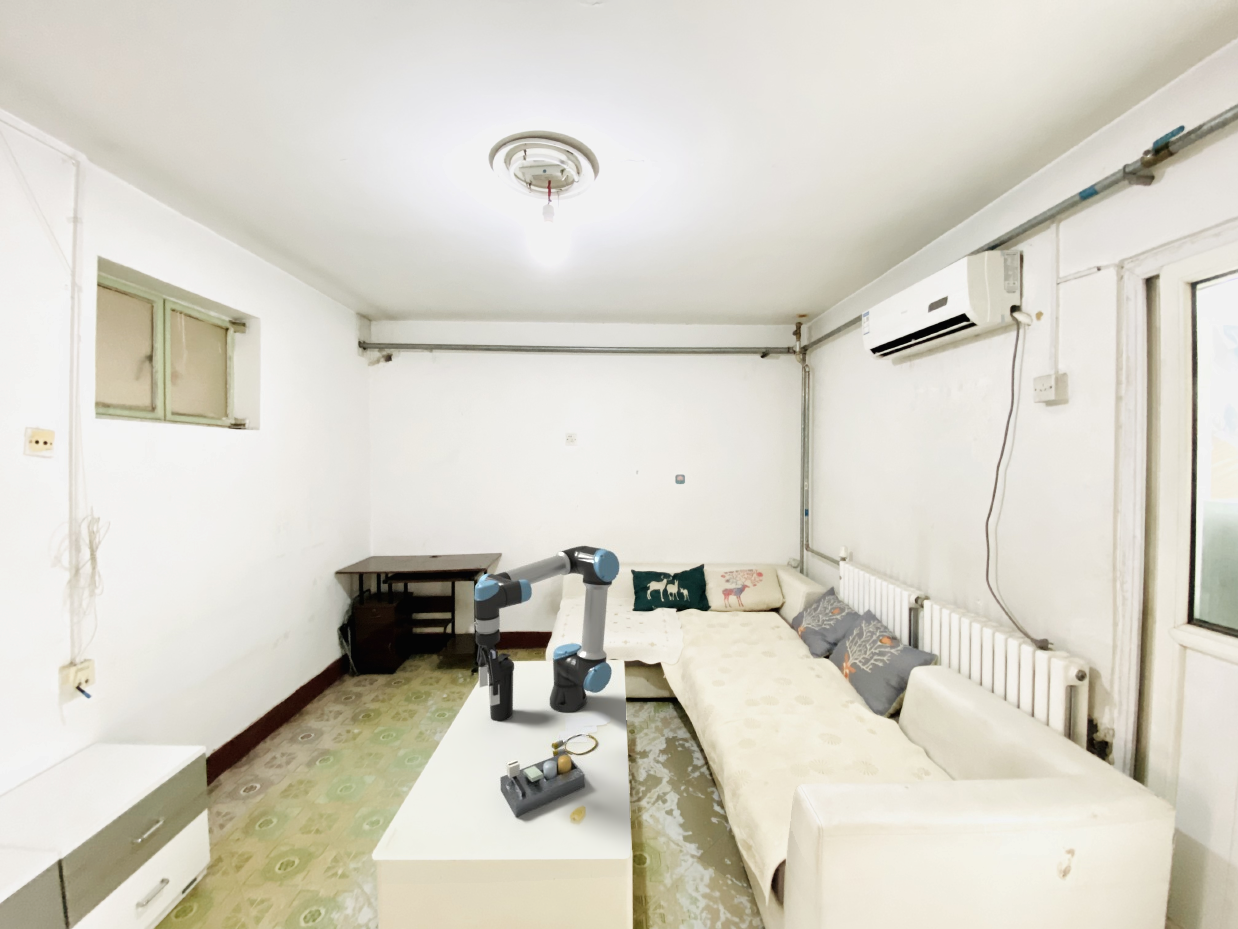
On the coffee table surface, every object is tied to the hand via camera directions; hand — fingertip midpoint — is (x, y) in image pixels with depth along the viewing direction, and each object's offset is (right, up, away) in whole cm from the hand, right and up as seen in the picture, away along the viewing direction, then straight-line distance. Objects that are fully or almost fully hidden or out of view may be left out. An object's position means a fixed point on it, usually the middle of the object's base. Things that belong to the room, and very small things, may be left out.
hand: (489, 694), depth 154 cm
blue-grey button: (+21, -22, -8) cm, 31 cm away
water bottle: (-4, -24, +32) cm, 40 cm away
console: (+19, -24, -9) cm, 32 cm away
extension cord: (+27, -24, +12) cm, 38 cm away
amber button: (+25, -22, -5) cm, 34 cm away
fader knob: (+10, -19, -11) cm, 24 cm away
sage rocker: (+16, -19, -11) cm, 27 cm away
